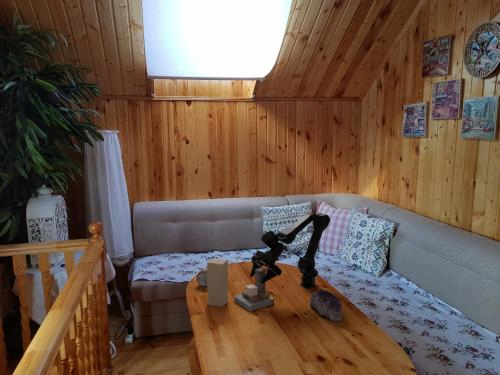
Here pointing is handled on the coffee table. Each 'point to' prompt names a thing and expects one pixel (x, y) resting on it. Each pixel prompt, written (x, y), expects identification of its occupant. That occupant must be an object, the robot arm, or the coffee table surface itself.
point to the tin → (202, 278)
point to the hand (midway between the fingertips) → (255, 279)
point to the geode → (327, 305)
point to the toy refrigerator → (217, 282)
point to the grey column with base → (261, 287)
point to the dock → (255, 305)
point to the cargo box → (251, 290)
